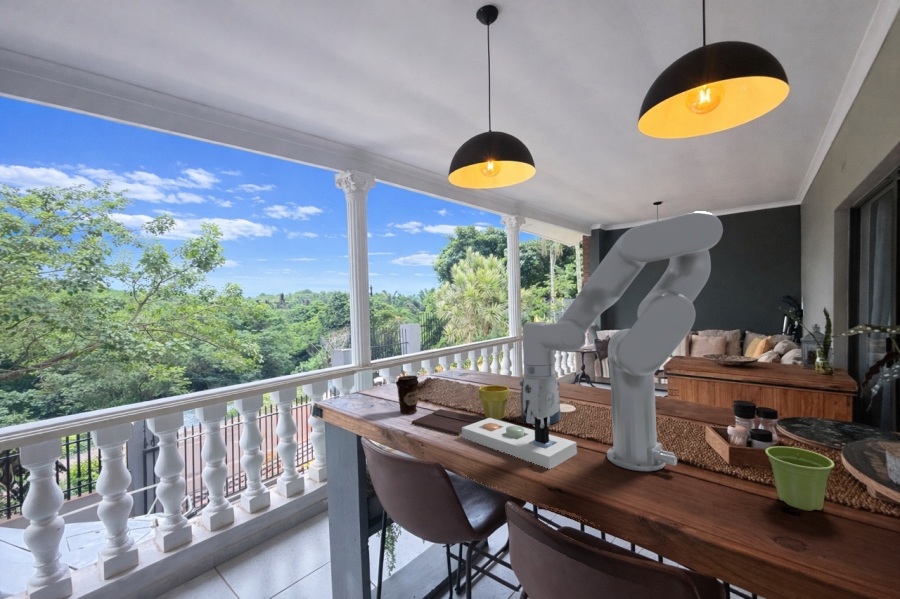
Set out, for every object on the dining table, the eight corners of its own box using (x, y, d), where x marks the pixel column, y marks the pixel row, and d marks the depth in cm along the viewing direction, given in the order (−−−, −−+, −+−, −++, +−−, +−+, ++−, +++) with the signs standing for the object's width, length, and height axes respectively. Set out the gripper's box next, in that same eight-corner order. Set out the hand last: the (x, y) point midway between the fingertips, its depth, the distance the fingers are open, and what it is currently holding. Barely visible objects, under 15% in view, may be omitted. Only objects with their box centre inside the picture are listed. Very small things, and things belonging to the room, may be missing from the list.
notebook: (458, 437, 112) (457, 431, 112) (411, 425, 124) (411, 419, 124) (486, 423, 123) (486, 417, 123) (441, 413, 136) (441, 408, 136)
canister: (513, 416, 127) (510, 365, 127) (543, 410, 132) (541, 360, 132) (537, 428, 115) (534, 370, 115) (569, 420, 121) (567, 366, 121)
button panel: (576, 453, 95) (576, 442, 95) (549, 469, 87) (549, 456, 87) (490, 427, 118) (489, 417, 118) (462, 437, 110) (461, 427, 110)
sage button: (527, 439, 102) (527, 428, 102) (516, 444, 99) (516, 433, 99) (514, 435, 106) (513, 424, 106) (502, 440, 103) (502, 429, 103)
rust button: (502, 435, 109) (502, 425, 109) (491, 440, 106) (491, 430, 106) (490, 432, 113) (490, 422, 113) (479, 436, 110) (479, 426, 110)
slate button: (556, 453, 96) (556, 441, 96) (545, 459, 93) (545, 446, 93) (540, 448, 99) (540, 436, 99) (529, 453, 96) (529, 441, 96)
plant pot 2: (833, 500, 70) (831, 453, 70) (839, 524, 63) (836, 472, 63) (768, 485, 76) (766, 442, 76) (766, 505, 69) (764, 458, 69)
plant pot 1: (500, 410, 135) (499, 383, 135) (516, 418, 126) (514, 389, 126) (474, 414, 131) (473, 387, 131) (489, 423, 122) (487, 393, 122)
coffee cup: (425, 410, 139) (423, 375, 139) (411, 417, 132) (409, 380, 132) (406, 408, 143) (405, 374, 143) (392, 414, 136) (390, 378, 136)
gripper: (533, 377, 88) (536, 454, 88) (568, 367, 98) (570, 437, 98) (508, 373, 94) (511, 446, 94) (543, 364, 104) (546, 430, 104)
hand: (541, 441), depth 96 cm, fingers closed
